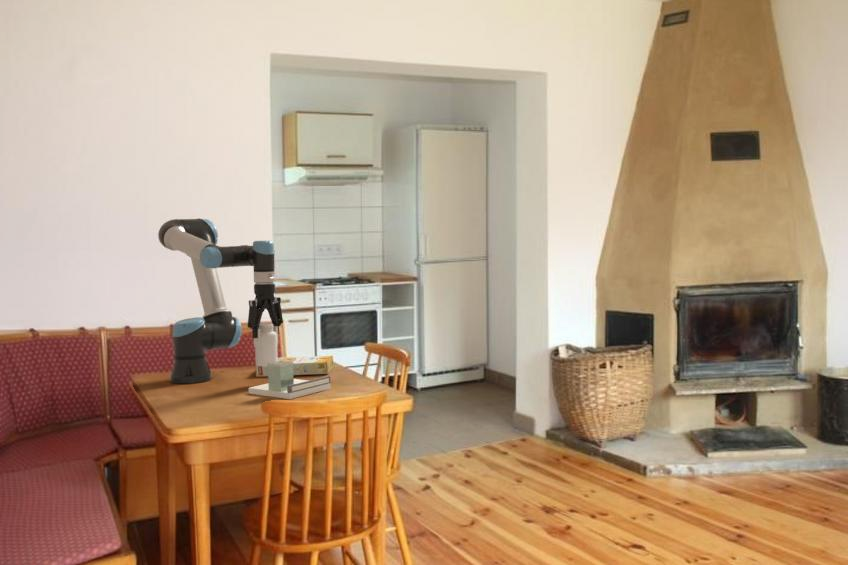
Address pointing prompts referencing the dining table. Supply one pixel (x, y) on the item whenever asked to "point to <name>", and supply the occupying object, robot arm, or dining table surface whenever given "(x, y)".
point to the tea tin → (280, 375)
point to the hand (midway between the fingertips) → (266, 345)
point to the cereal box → (303, 365)
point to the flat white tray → (294, 388)
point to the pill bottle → (266, 346)
